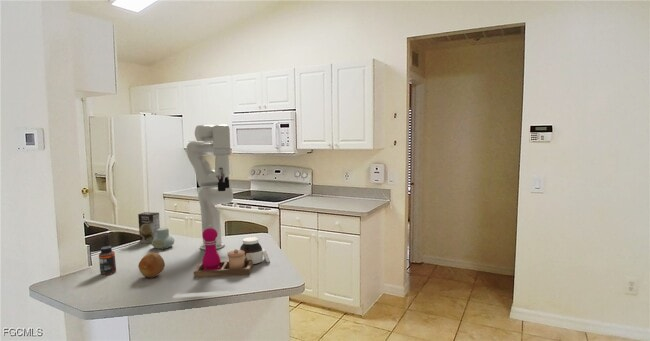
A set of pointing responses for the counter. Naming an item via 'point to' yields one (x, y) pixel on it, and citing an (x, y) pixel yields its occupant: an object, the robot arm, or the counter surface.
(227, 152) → the robot arm
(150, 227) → the coffee box
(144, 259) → the onion
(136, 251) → the counter surface
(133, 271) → the counter surface
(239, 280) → the counter surface
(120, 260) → the counter surface
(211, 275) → the caddy
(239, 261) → the salt crock
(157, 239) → the air freshener
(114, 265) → the supplement bottle
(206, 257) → the pepper mill
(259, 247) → the spread jar
